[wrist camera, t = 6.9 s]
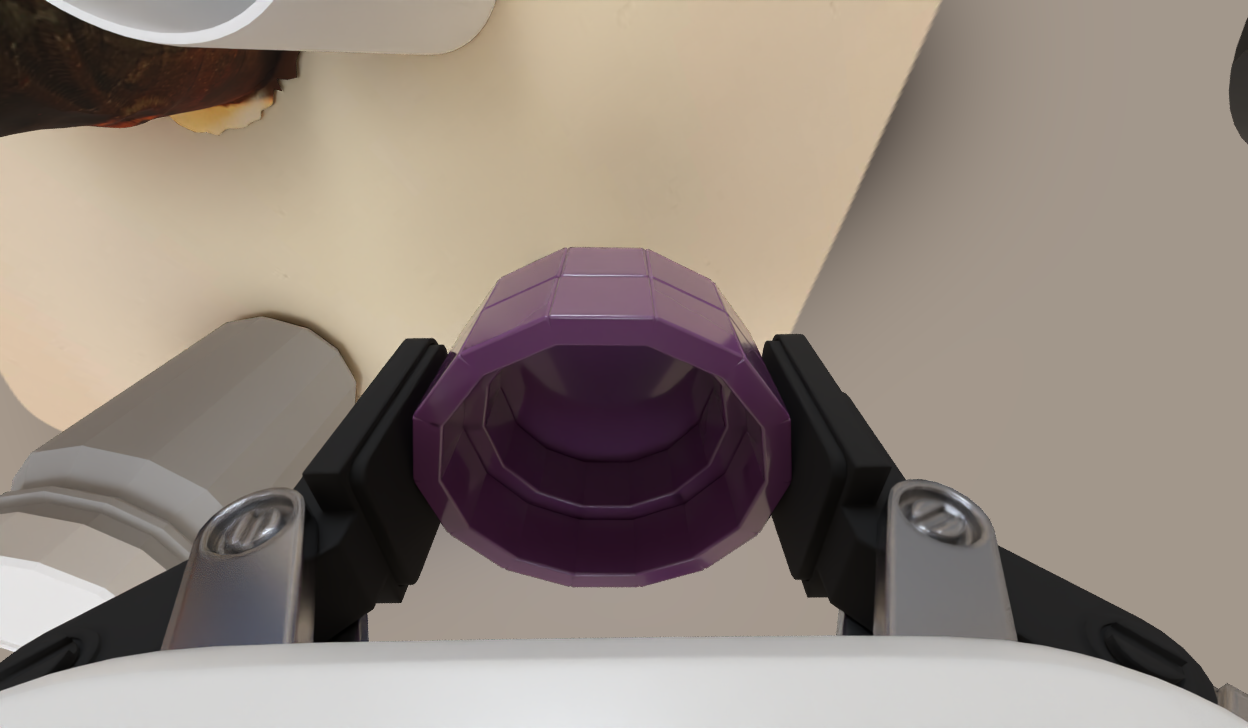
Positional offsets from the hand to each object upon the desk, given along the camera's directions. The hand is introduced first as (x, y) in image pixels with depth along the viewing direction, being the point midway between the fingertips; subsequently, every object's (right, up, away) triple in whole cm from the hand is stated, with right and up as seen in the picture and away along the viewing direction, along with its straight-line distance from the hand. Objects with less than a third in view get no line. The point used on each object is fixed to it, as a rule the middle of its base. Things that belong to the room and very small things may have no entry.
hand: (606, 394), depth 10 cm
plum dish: (0, 0, +1) cm, 1 cm away
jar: (-24, 0, +23) cm, 33 cm away
